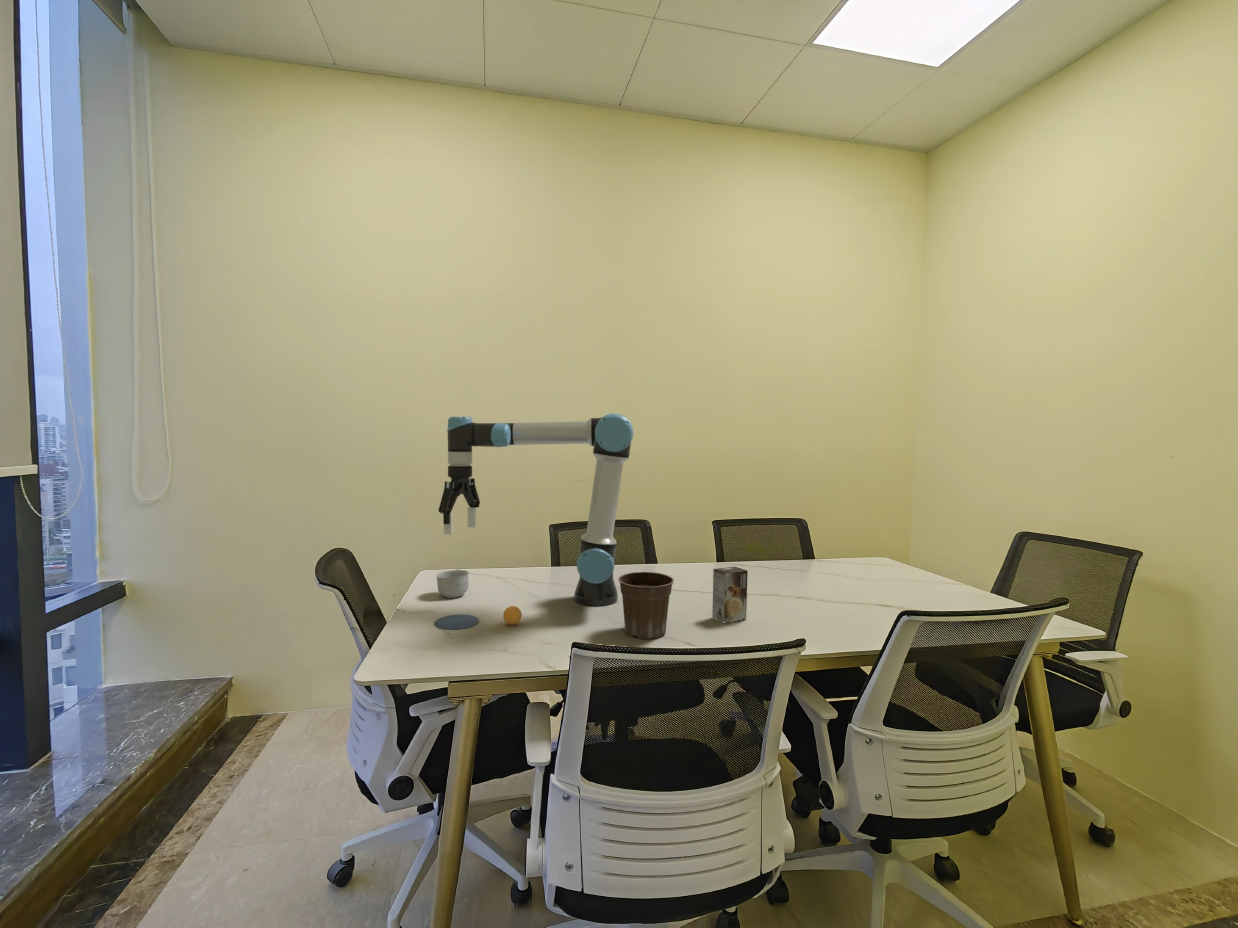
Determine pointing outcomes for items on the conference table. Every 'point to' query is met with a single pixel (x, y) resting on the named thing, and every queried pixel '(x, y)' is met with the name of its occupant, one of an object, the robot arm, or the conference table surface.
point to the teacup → (453, 583)
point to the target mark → (456, 622)
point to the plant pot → (645, 603)
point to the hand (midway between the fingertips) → (460, 530)
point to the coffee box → (729, 594)
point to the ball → (512, 615)
